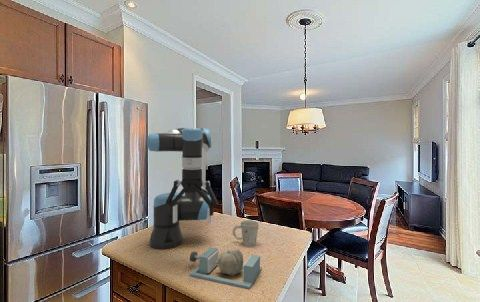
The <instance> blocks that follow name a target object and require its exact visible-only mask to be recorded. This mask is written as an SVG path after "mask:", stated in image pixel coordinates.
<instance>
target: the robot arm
mask: <svg viewBox="0 0 480 302" xmlns="http://www.w3.org/2000/svg"><path fill="white" fill-rule="evenodd" d="M146 142H147V143H146V144H147V149H148V150H149V151H150V152H157V153H158V152H182V153H181V167H182V169H181V180H179V179H176V180H174V181H173V186H172V189H171V191H170V192H166V193H162V194H159V195H156V196H155V197H154V198H153V207H152V208H153V229H152V231H151V233H150V238H149V246H150V248H154V249H159V250H165V249H166V250H167V249H173V248H176V247H179V246H181V244H183V243H184V236H183V233H182V230H181V227H180V221H181V222H183V221H199V222H200V221H205V220H207V221H206V222H207V223H206V225H207V226H210V225H211V223H212V217H213V216H214V212H215V211H214V209H215V208H214V207H217V206H218V205H219V201H218V199H217V197H216V195H215V192H214V191H213V188H212V187H211V181H210V180H206V177H207V176H206V175H207V173H206V169H207V167H206V164H207V162H206V161H207V153H208V152H209V150H210V149H211V148H212V138H211V132H210V130H209V128H206V127H205V128H204V127H200V128H198V127H196V128H195V127H179V128H174V129H170V130H168V131H167V132H162V133H161V132H159V133H158V132H152V133H149V134H148V136H147V141H146ZM179 186H182V189H181V191H180V192H178V191H177V190H178V188H179Z"/></svg>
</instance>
